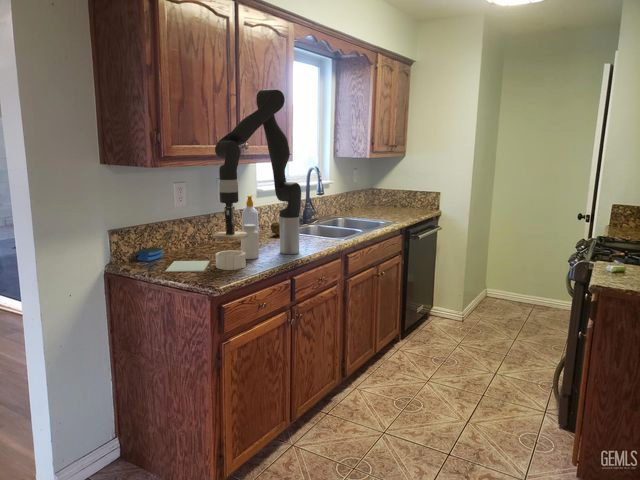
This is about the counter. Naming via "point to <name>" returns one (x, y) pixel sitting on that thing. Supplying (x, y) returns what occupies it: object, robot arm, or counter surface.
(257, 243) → the pill bottle
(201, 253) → the counter surface
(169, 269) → the mat
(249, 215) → the soap bottle
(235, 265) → the bowl
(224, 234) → the lid
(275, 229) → the potato
